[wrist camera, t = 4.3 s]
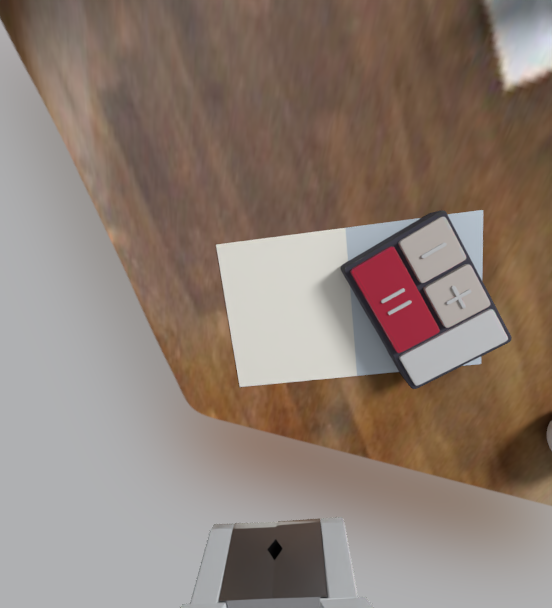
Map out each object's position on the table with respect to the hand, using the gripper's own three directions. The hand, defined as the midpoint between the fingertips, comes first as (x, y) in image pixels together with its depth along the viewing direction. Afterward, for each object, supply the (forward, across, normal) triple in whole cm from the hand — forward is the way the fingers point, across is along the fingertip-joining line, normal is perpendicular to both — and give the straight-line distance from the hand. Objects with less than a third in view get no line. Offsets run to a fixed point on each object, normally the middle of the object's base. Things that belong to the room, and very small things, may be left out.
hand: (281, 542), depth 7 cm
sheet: (+29, -7, +2) cm, 30 cm away
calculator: (+30, -14, +2) cm, 33 cm away
